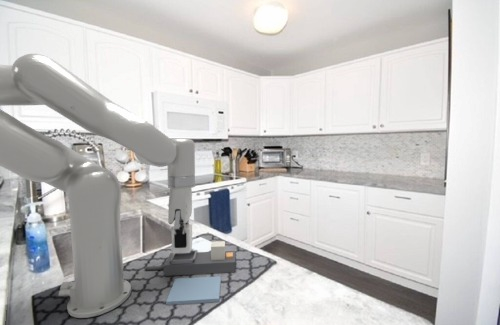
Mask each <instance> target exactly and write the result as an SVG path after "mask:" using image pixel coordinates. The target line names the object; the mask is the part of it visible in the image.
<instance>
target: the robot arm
mask: <svg viewBox="0 0 500 325" xmlns="http://www.w3.org/2000/svg"><path fill="white" fill-rule="evenodd" d="M1 106H4V107H5V106H6V107H7V106H46V107H47V108H49V109H51V110H52V111H54V112H56V113H58V114H59V115H60V116H61V115H62V116H63V117H64V118H66V119H68V120H69V121H71V122H72V123H74V124H75V125H78V126H79V127H81V128H82V129H84V130H86V132H90V133H91V134H93V135H96V136H99V137H102V138H106V139H107V140H110V141H112V142H114V143H116V144H118V145H120V146H122V147H124V148H126V149H128V150H129V151H131V152H132V153H134V156H135V158H136V159H137V161H139V162H140V163H142V164H143V165H144V164H145V165H147V166H152V167H158V168H163V167H167V168H166V169H167V188H168V189H169V193H168V211H167V212H168V214H167V215H168V218H167V220H168V222H167V223H168V224H169V225H172V224H173V223H174V225H173V227H174V242H175V248H185V247H186V246H187V242H186V233H185V224H190V218H191V217H192V213H193V212H192V211H193V190H192V189H193V188H195V187H196V166H195V164H196V159H195V158H196V157H195V156H196V155H195V154H196V153H195V152H196V150H195V148H196V146H195V142H194V140H193V139H191V138H169V137H168V136H167V135H166V134H165V133H164V132H162V131H161V130H159V129H158V128H157V127H155V126H154V125H152V124H151V123H150V122H148V121H146V120H145V119H143V118H141V117H140V116H138V115H136V114H135V113H133V112H131V111H130V110H128V109H126V108H125V107H123V106H121V105H119V104H117V103H115V102H113V101H112V99H111V100H110V99H109V98H108V97H106V96H105V95H103V93H101V92H99V90H97V89H95V88H93V87H92V86H91V85H89V83H87V82H86V81H84V80H83V79H81V78H79V77H78V76H77V75H75V74H74V73H73V72H71V71H70V70H69V69H67V68H66V67H65V66H63V65H61V64H60V63H59V62H57V61H56V60H54V59H52V58H50V57H48V56H46V55H43V54H40V53H39V54H38V53H26V54H24V55H22V56H19V57H18V58H17V59H16V60H15V61H14V62H13V64H12V65H8V64H4V65H3V64H0V107H1ZM0 167H1V168H3V169H6V170H8V171H10V172H11V173H14V174H15V175H17V176H20V177H21V178H23V179H24V180H26V181H27V180H28V181H30V182H35V183H45V184H47V185H49V186H51V187H53V188H55V189H58V190H60V191H62V192H64V193H66V194H67V198H68V199H67V200H68V208H69V210H68V211H69V223H70V224H69V225H70V238H71V249H72V262H73V278H74V279H73V280H74V281H63V282H62V283H61V285H60V287H59V288H60V290H59V291H58V297H67V296H69V298H70V299H69V301H68V302H67V306H66V307H67V309H66V310H67V312H68V315H70V316H71V317H73V318H76V319H77V318H78V319H85V318H86V319H87V318H88V319H89V318H92V317H93V318H94V317H97V316H101V315H103V314H106V313H108V312H110V311H112V310H114V309H117V307H119V306H121V305H122V304H123V303H124V302H125V301H126V300H127V299H128V298H129V297H130V295H131V293H132V285H131V283H130V282H129V281H128V280H126V279H124V262H123V261H124V260H123V259H124V258H123V246H122V244H123V242H122V241H123V240H122V227H121V201H122V191H121V189H122V188H121V184H120V181H119V179H118V177H117V176H116V175H115V173H114V172H113V171H111V170H109V169H108V168H106V167H104V166H101V165H99V164H98V163H96V162H94V161H92V160H91V159H89V158H87V157H85V155H83V154H81V153H79V152H77V151H76V150H74V149H72V148H71V147H69V146H67V145H66V144H64V143H62V142H61V141H59V140H57V139H55V138H52V137H49V136H47V135H45V134H43V133H42V132H39V131H38V130H36V129H34V128H32V127H30V126H29V125H27V124H25V123H24V122H22V121H20V120H18V119H17V118H16V117H14V116H13V115H11V114H9V113H8V112H6V111H4V110H3V109H1V108H0ZM181 222H183V223H181ZM180 225H183V228H182V227H180Z"/></svg>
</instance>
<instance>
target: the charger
mask: <svg viewBox="0 0 500 325" xmlns="http://www.w3.org/2000/svg"><path fill="white" fill-rule="evenodd" d="M181 223H183V222H181ZM180 227H182V228H183V225H180ZM185 233H186V242H187V246H186V247H185V248H175V242H174V226H173V227H172V228H171V254H173V253H190V251H191V249H192V240H193V224H192V223H189V224H185Z"/></svg>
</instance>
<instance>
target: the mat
mask: <svg viewBox="0 0 500 325" xmlns="http://www.w3.org/2000/svg"><path fill="white" fill-rule="evenodd" d="M221 283H222V275H220V276H219V275H218V276H201V277H199V276H198V277H181V278H175V279H174V282H173V284H172V287H171V289H170V292H169V294H168V296H167V299H166V302H165V306H173V305H188V304H191V305H192V304H205V303H206V304H207V303H219V302H220V295H221V294H220V293H221V285H222V284H221Z"/></svg>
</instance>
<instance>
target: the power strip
mask: <svg viewBox="0 0 500 325" xmlns="http://www.w3.org/2000/svg"><path fill="white" fill-rule="evenodd" d="M211 242H212V244H211V252H197V250H191V251H190V253H173V254H172V253H170V254H169V255H168V256H167V258H166V261H165V262H164V264H163V265H155V266H145V267H144V271H158V270H159V271H161V270H163V277H171V276H187V275H188V276H190V275H207V274H225V273H226V274H227V273H228V274H229V273H236V250H226V240H223V241H221V240H219V241H216V240H215V241H211Z"/></svg>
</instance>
